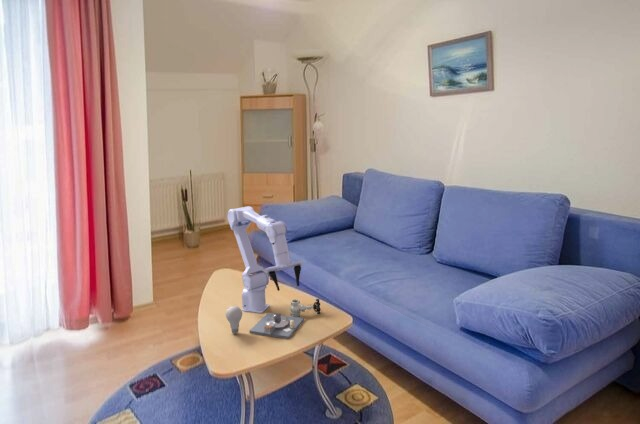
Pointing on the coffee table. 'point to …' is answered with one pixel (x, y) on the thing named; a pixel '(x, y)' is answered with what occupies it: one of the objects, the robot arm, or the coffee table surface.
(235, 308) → the lightbulb
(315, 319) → the coffee table surface
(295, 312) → the valve
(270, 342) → the coffee table surface
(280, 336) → the board
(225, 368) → the coffee table surface
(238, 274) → the coffee table surface
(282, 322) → the silver lidded pan
